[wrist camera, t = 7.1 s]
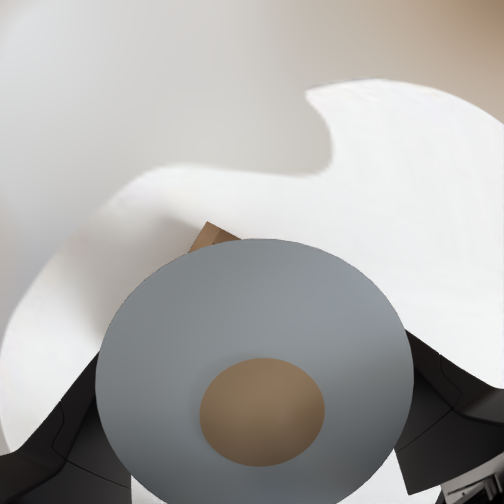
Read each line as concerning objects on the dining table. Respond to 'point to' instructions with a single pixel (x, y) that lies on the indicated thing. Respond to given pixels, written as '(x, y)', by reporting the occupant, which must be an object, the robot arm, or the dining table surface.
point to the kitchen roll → (254, 377)
